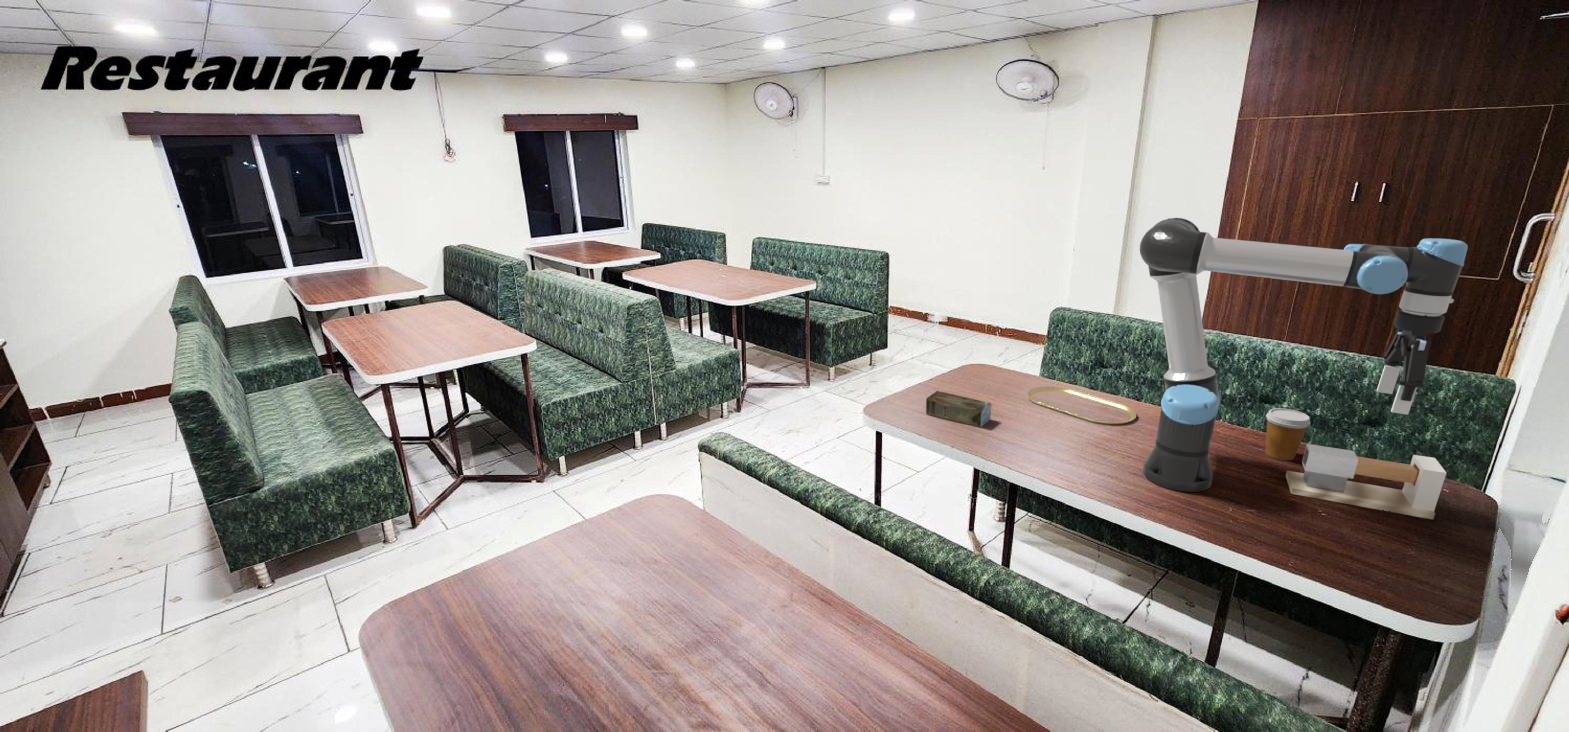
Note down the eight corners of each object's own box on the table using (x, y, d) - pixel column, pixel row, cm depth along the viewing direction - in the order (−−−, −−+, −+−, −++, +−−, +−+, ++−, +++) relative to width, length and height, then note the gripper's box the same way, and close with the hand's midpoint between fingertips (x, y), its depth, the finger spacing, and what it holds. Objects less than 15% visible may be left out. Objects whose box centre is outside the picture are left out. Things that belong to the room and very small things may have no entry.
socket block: (1411, 507, 146) (1423, 469, 143) (1402, 491, 153) (1413, 454, 150) (1433, 511, 144) (1446, 472, 141) (1423, 495, 151) (1434, 457, 148)
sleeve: (1301, 485, 157) (1309, 451, 154) (1298, 476, 161) (1306, 443, 158) (1348, 493, 153) (1358, 459, 150) (1344, 484, 157) (1353, 450, 154)
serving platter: (1047, 386, 231) (1048, 382, 230) (1147, 416, 204) (1148, 411, 203) (1015, 399, 221) (1015, 395, 220) (1115, 432, 193) (1116, 427, 193)
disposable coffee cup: (1309, 464, 170) (1319, 422, 166) (1268, 462, 172) (1277, 420, 168) (1290, 448, 179) (1299, 408, 175) (1251, 446, 180) (1260, 406, 177)
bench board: (1291, 493, 156) (1292, 488, 156) (1285, 475, 164) (1287, 470, 164) (1433, 519, 144) (1435, 513, 144) (1419, 498, 152) (1421, 493, 152)
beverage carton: (980, 428, 198) (982, 409, 196) (924, 415, 210) (924, 396, 208) (991, 420, 204) (992, 400, 202) (935, 407, 216) (936, 389, 214)
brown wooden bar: (1338, 471, 153) (1341, 459, 152) (1335, 465, 156) (1338, 453, 155) (1425, 485, 146) (1429, 472, 145) (1421, 479, 148) (1425, 466, 147)
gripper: (1465, 328, 128) (1430, 426, 135) (1427, 301, 148) (1398, 387, 155) (1414, 323, 131) (1383, 418, 138) (1384, 297, 151) (1358, 382, 159)
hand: (1391, 402), depth 147 cm, fingers open, 13 cm apart
